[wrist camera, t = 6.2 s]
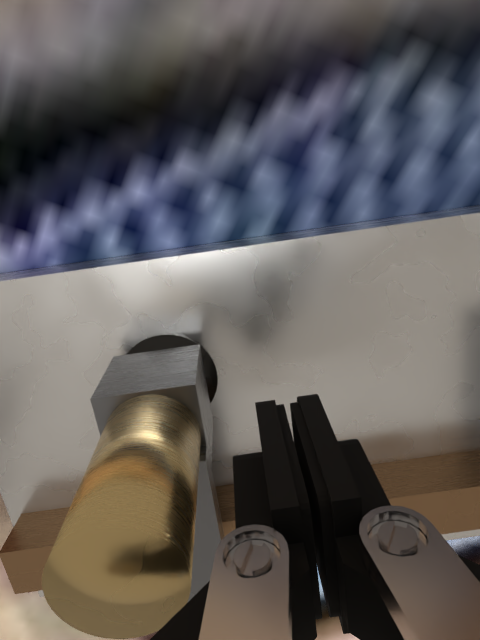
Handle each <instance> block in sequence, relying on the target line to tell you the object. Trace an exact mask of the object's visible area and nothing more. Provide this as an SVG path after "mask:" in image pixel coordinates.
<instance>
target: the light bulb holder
mask: <svg viewBox="0 0 480 640" xmlns="http://www.w3.org/2000/svg"><path fill="white" fill-rule="evenodd" d="M90 400H91V404H92V408H93V411H94V415H95V418H96V422H97V426H98V429H99V433H100V439H99V441H98V444H97V446H96V448H95V451H94V453H93V455H92V458H91V460H90V462H89V465H88V467H87V469H86V471H85V474H84V476H83V478H82V481H81V483H80V485H79V488H78V490H77V492H76V495H75V497H74V499H73V502H72V504H71V506H70V509H69V511H68V513H67V515H66V518H65V520H64V522H63V525H62V527H61V529H60V532H59V534H58V536H57V539H56V541H55V543H54V546H53V548H52V550H51V552H50V555H49V557H48V559H47V562H46V564H45V566H44V570H43V574H42V589H43V592H44V596H45V598H46V600H47V603H48V604H49V606H50V607H51V609H52V610H53V611H54V612H55V613H56V615H57V616H58V617H60V618H61V619H62V620H63V621H64V622H66V623H67V624H69V625H70V626H72V627H74V628H76V629H77V630H79V631H82V632H84V633H87V634H90V635H94V636H98V637H103V638H111V639H128V638H136V637H141V636H145V635H148V634H151V633H154V632H156V631H158V630H160V629H161V628H162V627H163V626H164V625H165V624H166V623H167V622H168V621H169V620H170V619H171V618H172V617H173V616H174V615H175V614H176V613H178V612H179V611H180V610H181V609H182V608H183V607H184V606H185V605H186V604H187V603H188V602H189V601H190V600H191V599H192V598H193V597H194V596H195V595H196V594H197V593H198V592H199V591H200V590H201V589H202V588H203V587H204V586H205V585H206V584H207V583H208V582H209V581H210V578H211V572H212V567H213V562H214V557H215V552H216V550H217V547H218V544H219V543H220V542H221V541H222V539H223V538H224V537H225V535H224V530H223V525H222V519H221V514H220V509H219V503H218V498H217V493H216V487H215V482H214V477H213V471H212V443H213V416H212V411H211V405H210V399H209V394H208V388H207V383H206V377H205V371H204V366H203V360H202V355H201V349H200V344H198V345H191V346H184V347H177V348H170V349H163V350H156V351H149V352H142V353H135V354H128V355H120V356H113V358H112V360H111V362H110V364H109V366H108V367H107V369H106V371H105V373H104V375H103V377H102V378H101V380H100V382H99V384H98V386H97V388H96V389H95V391H94V393H93V395H92V397H91V399H90Z"/></svg>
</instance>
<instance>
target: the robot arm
mask: <svg viewBox="0 0 480 640" xmlns="http://www.w3.org/2000/svg"><path fill="white" fill-rule="evenodd" d="M255 406H256V413H257V420H258V427H259V434H260V441H261V449H262V452H256V453H249V454H242V455H235V456H233V480H234V503H235V526H236V529H235V530H233V531H231V532H230V533H229V534H227V535H226V536H225V537H224V538H223V539H222V541H221V542H220V543H219V544H218V547H217V550H216V552H215V557H214V562H213V567H212V572H211V578H210V581H209V582H208V583H207V584H206V585H205V586H204V587H203V588H202V589H201V590H200V591H199V592H198V593H197V594H196V595H195V596H194V597H193V598H192V599H191V600H190V601H189V602H188V603H187V604H186V605H185V606H184V607H183V608H182V609H181V610H180V611H179V612H178V613H176V614H175V615H174V616H173V617H172V618H171V619H170V620H169V621H168V622H167V623H166V624H165V625H164V626H163V627H162V628H161V629H160V630H159V631H158V632H157V633H156V634H155V635H154V636H153V637H152V638H151V639H150V640H315V639H316V637H317V631H316V622H315V619H321V618H322V611H321V601H320V592H319V582H318V573H317V567H318V571H319V575H320V579H321V584H322V588H323V592H324V596H325V600H326V604H327V608H328V612H329V616H330V617H336V616H339V619H340V622H341V626H342V630H343V634H346V633H351V634H352V635H354V636H355V637H357V638H358V639H360V640H480V565H478V564H476V563H474V562H472V561H470V560H467V559H465V558H463V557H461V556H459V555H457V554H456V552H455V551H454V550H453V549H452V548H451V546H450V545H449V544H448V543H447V541H446V540H445V539H444V538H443V536H442V535H441V534H440V533H439V531H438V530H437V529H436V528H435V526H434V525H433V524H432V523H431V522H430V521H429V520H428V519H427V518H426V517H425V516H424V515H422V514H420V513H418V512H417V511H415V510H412V509H409V508H406V507H403V506H392V505H391V504H390V502H389V500H388V498H387V496H386V494H385V492H384V490H383V488H382V486H381V484H380V482H379V480H378V478H377V476H376V474H375V472H374V470H373V468H372V466H371V464H370V462H369V460H368V458H367V456H366V454H365V452H364V450H363V448H362V446H361V444H360V442H359V440H358V439H349V440H342V441H337V439H336V436H335V434H334V431H333V429H332V427H331V424H330V422H329V420H328V417H327V415H326V412H325V410H324V408H323V405H322V403H321V400H320V398H319V396H318V394H312V395H305V396H298V397H297V402H294V403H290V411H291V420H292V429H293V437H294V441H293V437H292V433H291V429H290V426H289V422H288V418H287V414H286V410H285V407H284V404H280V405H276V402H275V400H270V401H263V402H255Z"/></svg>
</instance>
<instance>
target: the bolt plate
mask: <svg viewBox="0 0 480 640" xmlns="http://www.w3.org/2000/svg"><path fill="white" fill-rule="evenodd" d="M198 344H200V349H201V355H202V360H203V366H204V371H205V377H206V383H207V388H208V394H209V399H210V405H211V411H212V416H213V443H212V471H213V477H214V482H215V487H216V493H217V498H218V503H219V509H220V514H221V519H222V525H223V530H224V535H225V536H226V535H227V534H229V533H230V532H231V531H233V530H235V529H236V526H235V503H234V480H233V456H235V455H242V454H249V453H256V452H262V449H261V441H260V434H259V427H258V420H257V413H256V406H255V402H263V401H270V400H275V402H276V405H280V404H284V407H285V410H286V414H287V418H288V422H289V426H290V429H291V433H292V437H293V429H292V420H291V411H290V403H294V402H297V397H298V396H305V395H312V394H318V396H319V398H320V400H321V403H322V405H323V408H324V410H325V412H326V415H327V417H328V420H329V422H330V424H331V427H332V429H333V431H334V434H335V436H336V439H337V441H342V440H349V439H358V440H359V442H360V444H361V446H362V448H363V450H364V452H365V454H366V456H367V458H368V460H369V462H370V464H371V466H372V468H373V470H374V472H375V474H376V476H377V478H378V480H379V482H380V484H381V486H382V488H383V490H384V492H385V494H386V496H387V498H388V500H389V502H390V504H391V505H392V506H403V507H406V508H409V509H412V510H415V511H417V512H418V513H420V514H422V515H424V516H425V517H426V518H427V519H428V520H429V521H430V522H431V523H432V524H433V525H434V526H435V528H436V529H437V530H438V531H439V533H440V534H441V535H442V536H443V538H444V539H445V540H452V539H459V538H467V537H474V536H480V205H477V206H470V207H463V208H456V209H449V210H442V211H435V212H428V213H421V214H414V215H407V216H400V217H393V218H386V219H379V220H372V221H365V222H358V223H351V224H344V225H337V226H330V227H323V228H316V229H309V230H302V231H296V232H289V233H282V234H275V235H268V236H261V237H254V238H247V239H240V240H233V241H226V242H219V243H212V244H205V245H198V246H191V247H184V248H177V249H170V250H163V251H156V252H149V253H142V254H135V255H128V256H121V257H114V258H107V259H100V260H93V261H86V262H79V263H72V264H65V265H58V266H51V267H44V268H37V269H30V270H23V271H16V272H9V273H2V274H0V493H1V495H2V498H3V501H4V503H5V506H6V509H7V511H8V514H9V517H10V519H11V522H12V524H13V529H12V531H11V533H10V535H9V536H8V538H7V540H6V542H5V543H4V545H3V547H2V549H1V551H0V558H1V560H2V563H3V565H4V568H5V570H6V573H7V575H8V577H9V580H10V582H11V585H12V587H13V590H14V592H15V594H18V593H25V592H32V591H38V593H39V596H40V597H43V596H44V592H43V589H42V574H43V570H44V566H45V564H46V562H47V559H48V557H49V555H50V552H51V550H52V548H53V546H54V543H55V541H56V539H57V536H58V534H59V532H60V529H61V527H62V525H63V522H64V520H65V518H66V515H67V513H68V511H69V509H70V506H71V504H72V502H73V499H74V497H75V495H76V492H77V490H78V488H79V485H80V483H81V481H82V478H83V476H84V474H85V471H86V469H87V467H88V465H89V462H90V460H91V458H92V455H93V453H94V451H95V448H96V446H97V444H98V441H99V439H100V433H99V429H98V426H97V422H96V418H95V415H94V411H93V408H92V404H91V400H90V399H91V397H92V395H93V393H94V391H95V389H96V388H97V386H98V384H99V382H100V380H101V378H102V377H103V375H104V373H105V371H106V369H107V367H108V366H109V364H110V362H111V360H112V358H113V356H120V355H128V354H135V353H142V352H149V351H156V350H163V349H170V348H177V347H184V346H191V345H198ZM293 441H294V437H293Z"/></svg>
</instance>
